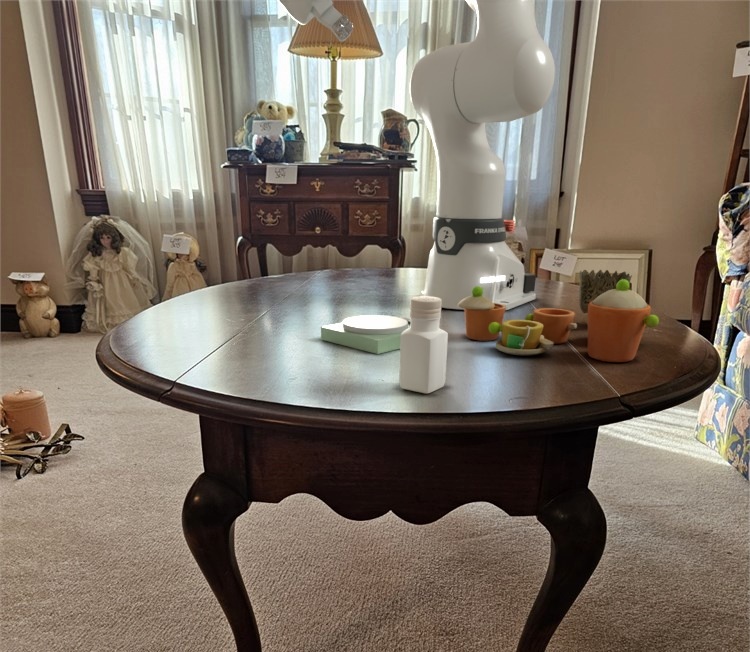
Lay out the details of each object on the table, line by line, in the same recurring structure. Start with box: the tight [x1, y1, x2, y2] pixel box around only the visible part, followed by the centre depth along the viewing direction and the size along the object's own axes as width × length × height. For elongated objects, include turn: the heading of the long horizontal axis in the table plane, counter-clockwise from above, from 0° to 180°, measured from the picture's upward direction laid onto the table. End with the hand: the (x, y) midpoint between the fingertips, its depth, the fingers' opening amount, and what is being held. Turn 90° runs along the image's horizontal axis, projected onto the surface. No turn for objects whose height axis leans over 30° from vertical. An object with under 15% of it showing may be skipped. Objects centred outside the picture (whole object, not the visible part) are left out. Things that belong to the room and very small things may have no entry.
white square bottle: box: [398, 295, 449, 395], centre depth 69 cm, size 4×4×10 cm
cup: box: [578, 269, 633, 327], centre depth 99 cm, size 8×7×8 cm
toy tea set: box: [458, 279, 660, 363], centre depth 87 cm, size 26×16×10 cm, turn 80°
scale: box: [320, 314, 411, 355], centre depth 91 cm, size 12×11×3 cm
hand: (357, 16), depth 71 cm, fingers open, 8 cm apart
